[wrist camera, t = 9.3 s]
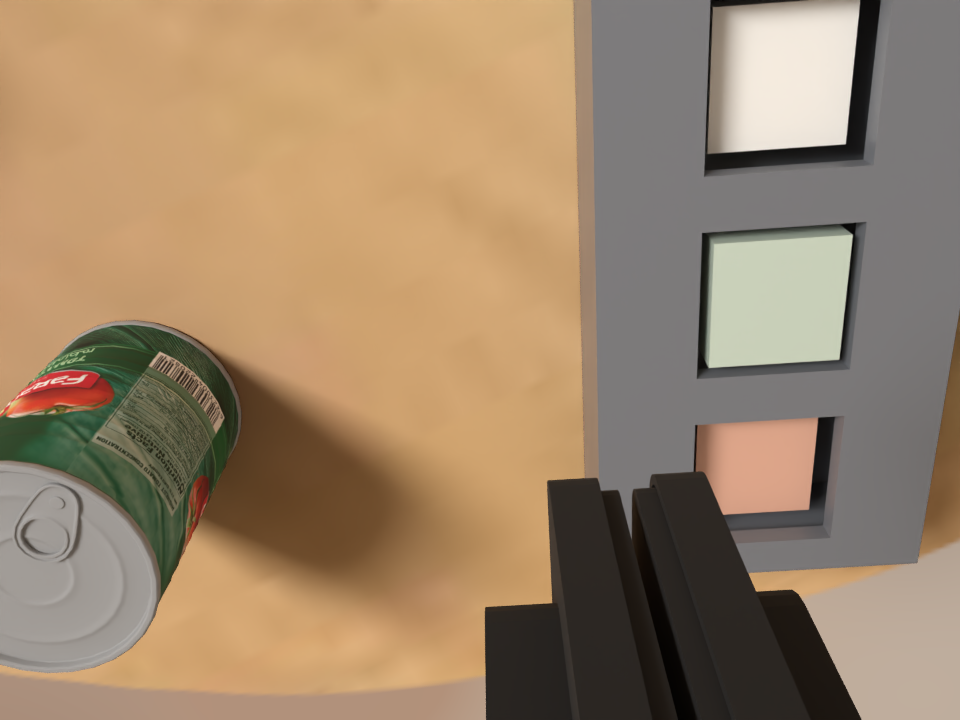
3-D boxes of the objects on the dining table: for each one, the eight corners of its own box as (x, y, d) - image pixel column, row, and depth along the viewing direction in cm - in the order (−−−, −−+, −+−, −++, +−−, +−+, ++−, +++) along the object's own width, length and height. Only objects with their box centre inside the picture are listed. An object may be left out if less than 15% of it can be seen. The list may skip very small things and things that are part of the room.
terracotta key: (684, 386, 35) (697, 416, 33) (798, 379, 35) (819, 408, 33) (681, 482, 37) (694, 516, 35) (789, 476, 37) (809, 509, 35)
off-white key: (695, 2, 29) (712, 7, 27) (832, -8, 29) (860, -4, 27) (691, 138, 31) (707, 153, 29) (819, 129, 31) (845, 144, 29)
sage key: (697, 222, 31) (714, 244, 29) (826, 214, 31) (852, 234, 29) (693, 339, 33) (708, 367, 31) (815, 331, 33) (839, 359, 31)
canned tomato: (203, 514, 40) (111, 708, 30) (26, 442, 38) (-134, 620, 28) (271, 369, 37) (194, 530, 27) (82, 285, 35) (-74, 422, 25)
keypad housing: (572, -51, 30) (590, -48, 25) (936, -78, 30) (1025, -82, 25) (585, 502, 39) (600, 581, 35) (863, 486, 39) (917, 563, 34)
